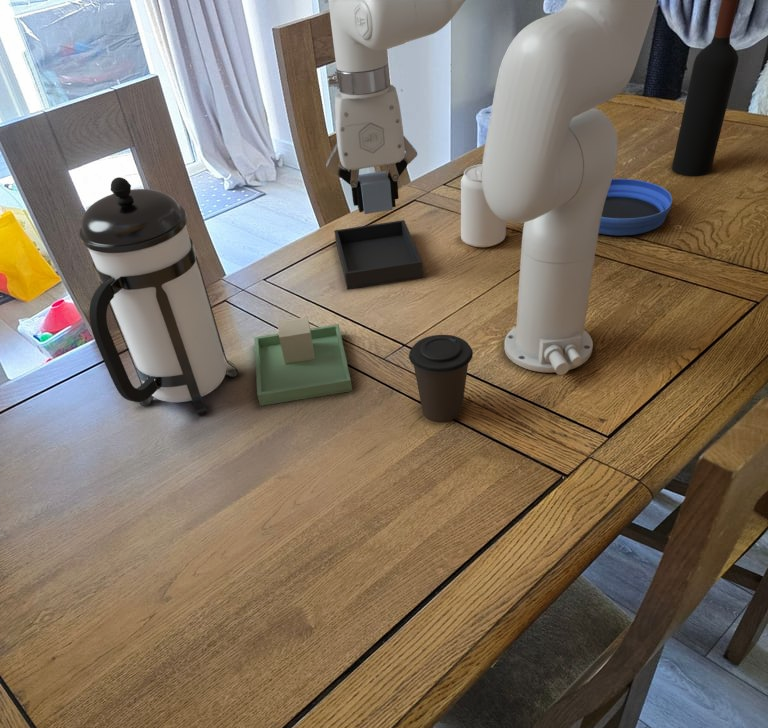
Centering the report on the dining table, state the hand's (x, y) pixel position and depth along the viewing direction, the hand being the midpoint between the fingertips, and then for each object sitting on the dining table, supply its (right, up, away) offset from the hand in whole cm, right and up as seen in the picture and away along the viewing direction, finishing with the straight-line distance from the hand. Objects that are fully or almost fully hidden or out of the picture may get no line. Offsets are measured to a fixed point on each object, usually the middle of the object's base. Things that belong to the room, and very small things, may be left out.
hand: (376, 205), depth 114 cm
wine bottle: (+64, +20, +28) cm, 73 cm away
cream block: (-12, -26, -8) cm, 30 cm away
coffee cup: (+9, -37, -20) cm, 43 cm away
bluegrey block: (0, 0, 0) cm, 0 cm away
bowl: (+45, +5, +16) cm, 48 cm away
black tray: (0, -5, +11) cm, 12 cm away
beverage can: (+19, 0, +14) cm, 24 cm away
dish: (-11, -29, -10) cm, 33 cm away
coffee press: (-27, -33, -13) cm, 45 cm away
